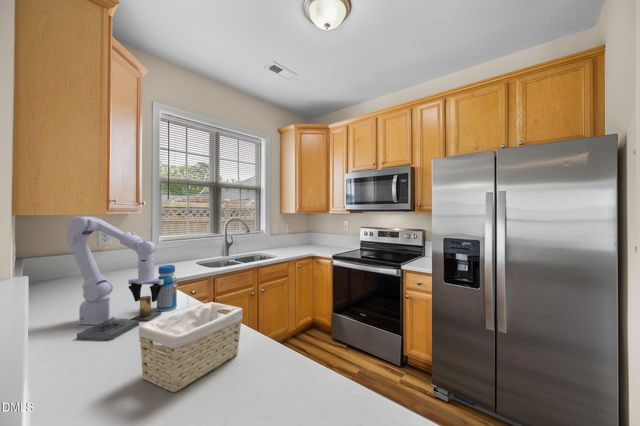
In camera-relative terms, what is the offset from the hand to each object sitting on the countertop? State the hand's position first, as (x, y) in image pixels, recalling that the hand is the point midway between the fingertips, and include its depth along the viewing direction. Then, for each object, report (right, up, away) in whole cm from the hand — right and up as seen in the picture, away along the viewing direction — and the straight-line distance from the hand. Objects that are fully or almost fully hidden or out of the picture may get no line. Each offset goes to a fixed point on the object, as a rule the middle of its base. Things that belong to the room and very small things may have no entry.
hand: (145, 301), depth 115 cm
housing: (-4, -7, -14) cm, 16 cm away
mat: (0, -7, 0) cm, 7 cm away
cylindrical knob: (0, -6, 0) cm, 6 cm away
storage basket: (+39, -7, -37) cm, 54 cm away
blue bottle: (+3, -7, +11) cm, 13 cm away
